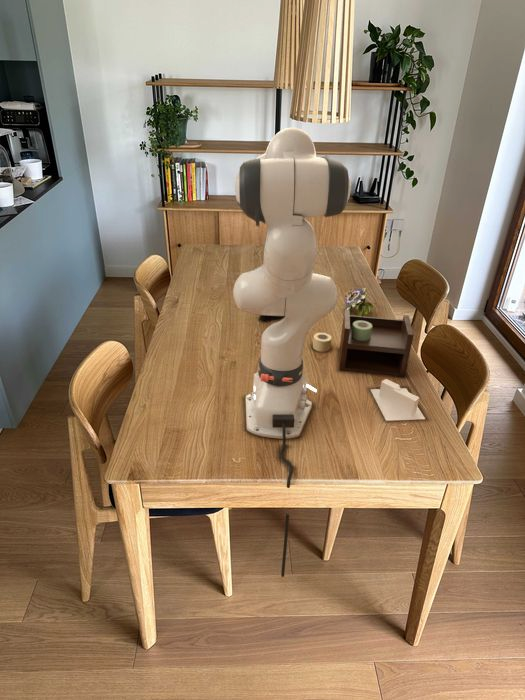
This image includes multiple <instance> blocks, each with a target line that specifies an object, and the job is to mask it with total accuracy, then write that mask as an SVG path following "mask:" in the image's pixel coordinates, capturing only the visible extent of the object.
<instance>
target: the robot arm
mask: <svg viewBox="0 0 525 700" xmlns="http://www.w3.org/2000/svg"><path fill="white" fill-rule="evenodd" d="M316 152H317V151H316V147H315V144H314V141H313V139H312V138H311V136H310V135H309V133H307V132H306V131H305V130H303V129H300V128H298V127H287V128H283V129H281V130H280V131H278V132H277V133H276V134H275V135H274V136H273V137H272V138H271V140H269V143H268V145H267V148H266V150H265V152H264V153H263V154H260V155H259V156H257V157H255V158H253V159H252V158H251V159H248V160H245V161H243V162H242V164H241V165H240V166H239V170H238V173H237V175H236V177H235V183H234V192H235V199H236V202H237V205H238V206H239V208H240V210H241V211H242V212H243V214H245V216H246V217H248V218H249V219H251V220H252V221H254V222H255V226H256V227H260V222H261V223H262V224H264V225H266V238H265V242H264V249H263V261H262V262H263V263H262V265H260V266H259V267H257V268H255V269H253V270H249V271H245V272H243V273H241V274H240V275H239V276H238V277H237V279H236V280H235V282H234V285H233V289H232V296H233V301H234V303H235V305H236V307H237V308H238V309H239V310H240V311H241V312H245V313H248V314H252V315H257V316H260V315H270V316H286V317H285V318H281V319H280V320H279V321H276V322H274V323H272V324H270V325H268V326H267V328H265V330H264V331H263V333H262V334H261V339H260V340H261V341H260V343H261V344H260V357H259V359H258V364H257V365H258V366H257V367H258V368H257V370H258V371H256V372H255V373H253V386H252V387H253V389H252V391H251V392H250V393H248V394H246V395H245V398H244V399H245V400H244V401H245V423H246V424H245V425H246V426H245V427H246V431H247V432H249V433H251V434H254V435H255V436H258V437H263V438H270V439H276V440H277V439H279V440H282V445H281V448H280V451H279V457H280V459H281V460H282V462H284V463H285V464H286V465H287V466H288V468H289V472H288V475H287V480H286V488H287V489H290V488H291V481H292V477H293V473H294V468H293V465H292V463H291V462H290V460H288V459H287V458H286V457H285V456H284V451H285V449H286V446H287V445H286V444H287V443H286V442H287V440H288V439H294V438H298V437H300V435H301V433H302V431H303V429H304V427H305V424H306V422H307V419H308V417H309V415H310V412H311V410H312V408H313V402H312V401H311V400H309V399H308V398H307V393H308V389H309V390H311V391H312V392H315V393H317V389H316V388H315V387H313V386H312V385H310V384H308V379H307V378H306V377H305V376H304V375H303V373H304V360H303V354H304V347H305V341H306V338H307V335H308V333H309V331H310V330H311V329H312V328H313V327H314V325H315V324H316V323H317V322H318V321H320V320H321V319H322V318H325V317H326V316H328V315H329V314H330V313H331V312H332V311H333V310H334V309H335V307H336V305H337V302H338V297H339V295H338V288H337V285H336V283H335V281H334V280H333V279H332V278H331V276H327V275H323V274H320V273H314V269H315V266H316V260H317V253H318V243H317V237H316V232H315V228H314V227H313V226H312V224H311V222H309V221H308V220H306V219H308V218H316V217H324V218H329V217H335V216H338V215H340V214H342V213H343V212H344V210H345V209H346V208H347V204H348V201H349V200H350V196H351V191H352V182H351V177H350V175H349V170H348V168H347V167H346V166H345V165H344V164H343V163H342V162H341V161H339V160H336V159H333V158H331V156H330V155H329V154H325V155H324V156H320V157H318V156H317V153H316ZM305 218H306V219H305ZM284 523H285V525H284V539H283V550H282V561H281V572H280V573H281V575H280V576H281V577H282V578H284V577H285V570H286V559H287V548H288V538H289V525H290V514H288V513H287V514H285V522H284Z"/></svg>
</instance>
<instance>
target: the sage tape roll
mask: <svg viewBox="0 0 525 700" xmlns="http://www.w3.org/2000/svg"><path fill="white" fill-rule="evenodd" d="M371 332H372V324H371V323H369V322H367V321H355V322H354V323H353V326H352V333H351V336H352V337H353V338H354V339H356V340H360V341H366V340H369V339H370V338H371Z"/></svg>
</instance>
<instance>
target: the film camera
mask: <svg viewBox="0 0 525 700" xmlns="http://www.w3.org/2000/svg"><path fill="white" fill-rule="evenodd" d="M285 317H286V316H270V315H259V320H260V321H261V322H269V321H275V320H282V319H283V318H285Z"/></svg>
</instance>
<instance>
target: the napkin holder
mask: <svg viewBox="0 0 525 700" xmlns="http://www.w3.org/2000/svg"><path fill="white" fill-rule="evenodd" d="M369 390H370V392H371V394H372V396H373V398H374V400H375V402H376V404H377V405H378V408H379V410H380V412H381V414H382V415H383V417H384V419H385V421H386V422H388V421H389V422H390V421H411V420H412V421H413V420H414V421H416V420H426V417H425V416H424V414H423V412H422V411H421V410H420V408H419V407H418V405H419V402H420V397H419V396H417V395H415V394H413V393H412V392H409V390H408V388H407V387H401V385H400V384H398V383H396V382H394V381H392V380H390V379H387V378H385V379H383V380H382V381H381V383H380V387H379V388H371V389H369Z"/></svg>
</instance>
